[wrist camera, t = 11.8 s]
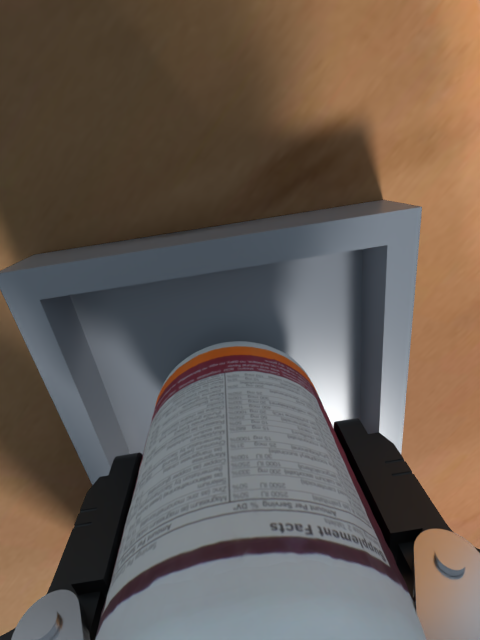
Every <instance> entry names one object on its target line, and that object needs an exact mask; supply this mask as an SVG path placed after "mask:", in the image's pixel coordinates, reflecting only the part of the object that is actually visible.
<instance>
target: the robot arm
mask: <svg viewBox="0 0 480 640" xmlns="http://www.w3.org/2000/svg"><path fill="white" fill-rule="evenodd" d="M334 431H335V433H336V435H337V437H338V440H339V442H340V444H341V446H342V448H343V449H344V452H345V454H346V457H347V459H348V462H349V464H350V466H351V468H352V470H353V472H354V474H355V477H356V479H357V481H358V483H359V485H360V487H361V489H362V491H363V493H364V496H365V498H366V500H367V502H368V504H369V506H370V508H371V511H372V513H373V515H374V517H375V519H376V522H377V524H378V525H379V527H380V529H381V532H382V534H383V537H384V539H385V542H386V543H387V545H388V547H389V549H390V551H391V552H392V554H393V557H394V559H395V562H396V565H397V567H398V569H399V571H400V573H401V575H402V577H403V579H404V581H405V582H406V585H407V587H408V590H409V592H410V594H411V596H412V599H413V601H414V603H415V609H416V613H417V616H418V618H419V620H420V623H421V625H422V628H423V631H424V635H425V638H426V640H480V549H477V548H475V547H474V546H473V545H472V544H470V543H469V542H468V541H467V540H465V539H464V538H463V537H461V536H459V535H457V534H455V533H454V532H453V531H452V530H451V529H450V528H449V527H448V525H447V524H446V523H445V521H444V520H443V518H442V517H441V515H440V514H439V512H438V511H437V509H436V507H435V506H434V504H433V503H432V501H431V500H430V498H429V497H428V495H427V494H426V492H425V491H424V489H423V488H422V486H421V485H420V483H419V481H418V480H417V478H416V477H415V475H414V474H412V471H411V469H410V468H409V466H408V465H407V463H406V462H404V459H403V457H402V455H401V454H400V452H399V451H398V449H397V448H396V446H395V445H394V444H393V443H392V442H391V441H390V440H388V439H387V438H386V437H384V436H383V435H382V434H381V433H379V432H378V433H372V434H368V433H367V431H366V430H365V428H364V426H363V424H362V423H361V421H360V420H359V419H358V418H354V419H348V420H342V421H335V422H334ZM142 456H143V455H142V454H141V453H133V454H127V455H121V456H116V457H115V458H114V460H113V463H112V466H111V469H110V472H109V475H108V476H102V477H99V478H98V479H97V481H96V482H95V483H94V484H93V486H92V487H91V488H90V489H89V491H88V492H87V494H86V496H85V499H84V502H83V504H82V507H81V509H80V514H78V517H77V519H76V522H75V527H74V529H73V530H72V532H71V535H70V537H69V540H68V542H67V545H66V548H65V550H64V553H63V555H62V558H61V560H60V563H59V565H58V568H57V571H56V573H55V576H54V578H53V581H52V583H51V586H50V588H49V590H48V592H47V594H46V595H45V596H43V597H42V598H41V599H39V600H38V601H37V602H36V603H34V604H33V605H32V606H31V607H30V608H29V609H28V610H27V612H26V613H25V614H24V615H23V617H22V618H21V620H20V621H19V623H18V625H17V627H16V628H15V629H13V630H11V631H9V632H8V633H6V634H4V635H2V636H0V640H95V638H96V634H97V630H98V626H99V622H100V618H101V612H102V609H103V607H104V604H105V601H106V597H107V594H108V591H109V587H110V583H111V579H112V575H113V570H114V566H115V562H116V558H117V554H118V549H119V546H120V543H121V539H122V535H123V530H124V527H125V523H126V519H127V515H128V512H129V509H130V505H131V501H132V497H133V492H134V489H135V485H136V481H137V477H138V472H139V467H140V463H141V460H142Z"/></svg>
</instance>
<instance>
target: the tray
mask: <svg viewBox="0 0 480 640" xmlns="http://www.w3.org/2000/svg"><path fill="white" fill-rule="evenodd" d="M421 211H422V207H420V206H414V205H409V204H404V203H398V202H393V201H387V200H379V201H373V202H366V203H360V204H354V205H347V206H341V207H335V208H328V209H322V210H315V211H309V212H303V213H296V214H290V215H284V216H277V217H271V218H264V219H258V220H252V221H245V222H239V223H233V224H226V225H220V226H213V227H207V228H201V229H194V230H188V231H182V232H175V233H169V234H163V235H156V236H150V237H143V238H137V239H131V240H124V241H118V242H112V243H105V244H99V245H92V246H86V247H80V248H73V249H67V250H61V251H54V252H48V253H41V254H35V255H32V256H30V257H28V258H26V259H24V260H22V261H20V262H18V263H16V264H14V265H12V266H9V267H7V268H5V269H3V270H1V271H0V290H1V292H2V294H3V296H4V298H5V300H6V302H7V305H8V307H9V309H10V311H11V313H12V315H13V317H14V319H15V322H16V324H17V326H18V328H19V330H20V332H21V334H22V336H23V339H24V341H25V343H26V345H27V347H28V349H29V351H30V353H31V356H32V358H33V360H34V362H35V364H36V366H37V368H38V370H39V373H40V375H41V377H42V379H43V381H44V383H45V385H46V387H47V390H48V392H49V394H50V396H51V398H52V400H53V402H54V404H55V407H56V409H57V411H58V413H59V415H60V417H61V419H62V421H63V424H64V426H65V428H66V430H67V432H68V434H69V436H70V438H71V441H72V443H73V445H74V447H75V449H76V451H77V453H78V455H79V458H80V460H81V462H82V464H83V466H84V468H85V470H86V472H87V475H88V477H89V479H90V481H91V483H92V485H93V484H94V483H95V482H96V481H97V479H98V478H99V477H102V476H108V475H109V472H110V469H111V466H112V463H113V460H114V458H115V457H116V456H121V455H127V454H133V453H141V454H142V455H143V453H144V449H145V444H146V440H147V437H148V433H149V429H150V425H151V422H152V417H153V413H154V410H155V405H156V401H157V398H158V395H159V392H160V390H161V388H162V386H163V384H164V382H165V380H166V378H167V377H168V376H169V374H170V373H171V372H172V371H173V369H174V368H175V367H176V366H177V365H178V364H179V363H181V362H182V361H183V360H185V359H186V358H187V357H189V356H190V355H192V354H194V353H195V352H197V351H199V350H202V349H204V348H206V347H209V346H212V345H215V344H219V343H224V342H233V341H246V342H254V343H259V344H264V345H267V346H270V347H272V348H275V349H277V350H280V351H282V352H283V353H285V354H287V355H289V356H290V357H291V358H293V359H294V360H295V361H296V362H297V363H298V364H299V365H300V366H301V367H302V368H303V369H304V370H305V372H306V373H307V375H308V376H309V378H310V379H311V381H312V383H313V385H314V387H315V389H316V391H317V393H318V395H319V398H320V400H321V402H322V404H323V407H324V409H325V411H326V412H327V415H328V417H329V419H330V422H331V424H332V426H333V428H334V422H335V421H342V420H348V419H354V418H358V419H359V420H360V421H361V423H362V424H363V426H364V428H365V430H366V431H367V433H368V434H372V433H378V432H379V433H381V434H382V435H383V436H384V437H386V438H387V439H388V440H390V441H391V442H392V443H393V444H394V445H395V446H396V448H397V449H398V451H399V452H400V454H401V449H402V437H403V425H404V414H405V402H406V390H407V378H408V366H409V354H410V342H411V330H412V318H413V307H414V295H415V283H416V271H417V259H418V247H419V235H420V223H421Z"/></svg>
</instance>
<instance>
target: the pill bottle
mask: <svg viewBox="0 0 480 640" xmlns="http://www.w3.org/2000/svg"><path fill="white" fill-rule="evenodd" d="M95 640H426V638H425V635H424V631H423V628H422V625H421V623H420V620H419V618H418V616H417V613H416V609H415V603H414V601H413V599H412V596H411V594H410V592H409V590H408V587H407V585H406V582H405V581H404V579H403V577H402V575H401V573H400V571H399V569H398V567H397V565H396V562H395V559H394V557H393V554H392V552H391V551H390V549H389V547H388V545H387V543H386V542H385V539H384V537H383V534H382V532H381V529H380V527H379V525H378V524H377V522H376V519H375V517H374V515H373V513H372V511H371V508H370V506H369V504H368V502H367V500H366V498H365V496H364V493H363V491H362V489H361V487H360V485H359V483H358V481H357V479H356V477H355V474H354V472H353V470H352V468H351V466H350V464H349V462H348V459H347V457H346V454H345V452H344V449H343V448H342V446H341V444H340V442H339V440H338V437H337V435H336V433H335V431H334V428H333V426H332V424H331V422H330V419H329V417H328V415H327V412H326V411H325V409H324V407H323V404H322V402H321V400H320V398H319V395H318V393H317V391H316V389H315V387H314V385H313V383H312V381H311V379H310V378H309V376H308V375H307V373H306V372H305V370H304V369H303V368H302V367H301V366H300V365H299V364H298V363H297V362H296V361H295V360H294V359H293V358H291V357H290V356H289V355H287V354H285V353H283V352H282V351H280V350H277V349H275V348H272V347H270V346H267V345H264V344H259V343H254V342H246V341H233V342H224V343H219V344H215V345H212V346H209V347H206V348H204V349H202V350H199V351H197V352H195V353H194V354H192V355H190V356H189V357H187V358H186V359H185V360H183V361H182V362H181V363H179V364H178V365H177V366H176V367H175V368H174V369H173V371H172V372H171V373H170V374H169V376H168V377H167V378H166V380H165V382H164V384H163V386H162V388H161V390H160V392H159V395H158V398H157V401H156V405H155V410H154V413H153V417H152V422H151V425H150V429H149V433H148V437H147V440H146V444H145V449H144V453H143V456H142V460H141V463H140V467H139V472H138V477H137V481H136V485H135V489H134V492H133V497H132V501H131V505H130V509H129V512H128V515H127V519H126V523H125V527H124V530H123V535H122V539H121V543H120V546H119V549H118V554H117V558H116V562H115V566H114V570H113V575H112V579H111V583H110V587H109V591H108V594H107V597H106V601H105V604H104V607H103V609H102V612H101V618H100V622H99V626H98V630H97V634H96V638H95Z"/></svg>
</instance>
